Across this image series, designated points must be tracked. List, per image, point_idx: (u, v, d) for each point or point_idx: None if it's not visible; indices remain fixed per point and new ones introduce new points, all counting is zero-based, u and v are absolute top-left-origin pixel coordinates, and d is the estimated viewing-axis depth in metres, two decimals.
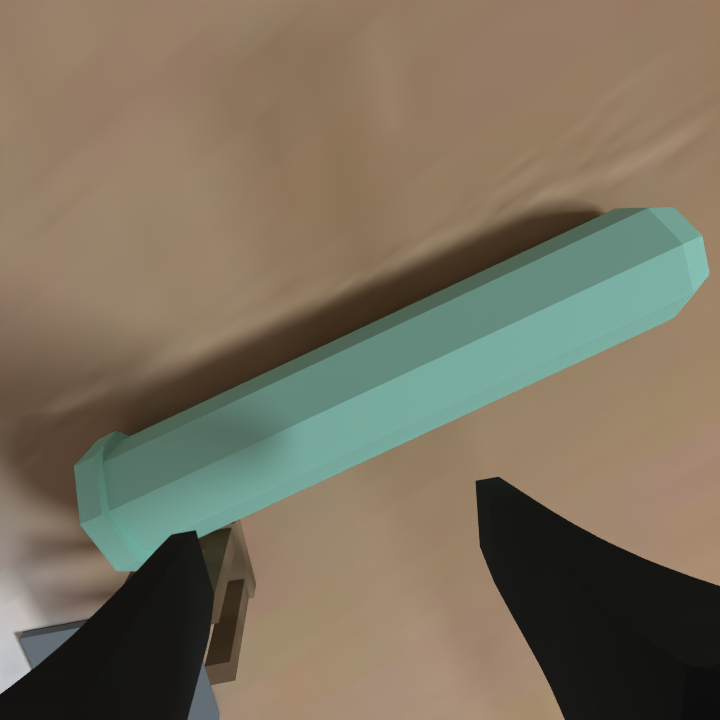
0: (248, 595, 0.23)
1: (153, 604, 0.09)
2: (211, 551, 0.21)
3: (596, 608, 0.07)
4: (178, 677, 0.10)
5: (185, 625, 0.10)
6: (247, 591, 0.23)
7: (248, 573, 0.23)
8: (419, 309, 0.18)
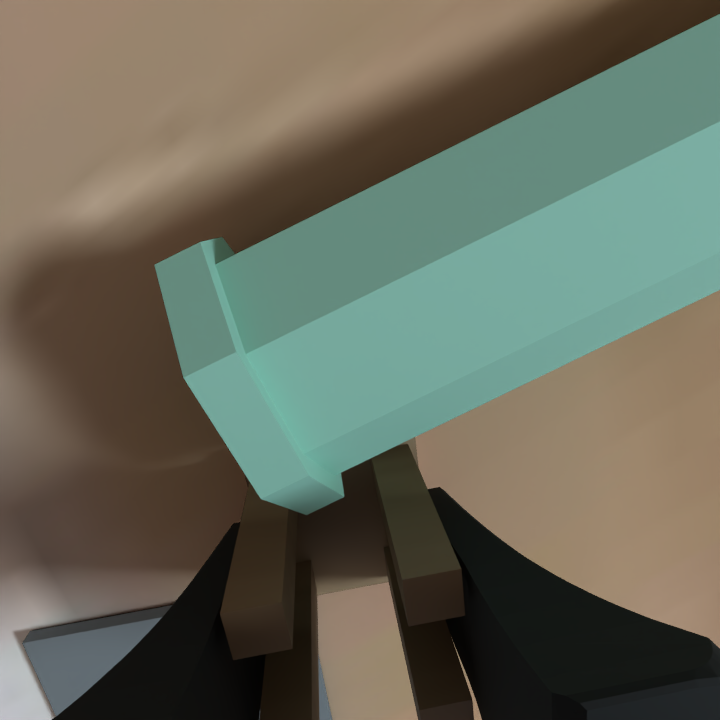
0: None
1: None
2: (393, 478, 0.11)
3: (497, 627, 0.07)
4: (253, 663, 0.10)
5: None
6: None
7: None
8: None
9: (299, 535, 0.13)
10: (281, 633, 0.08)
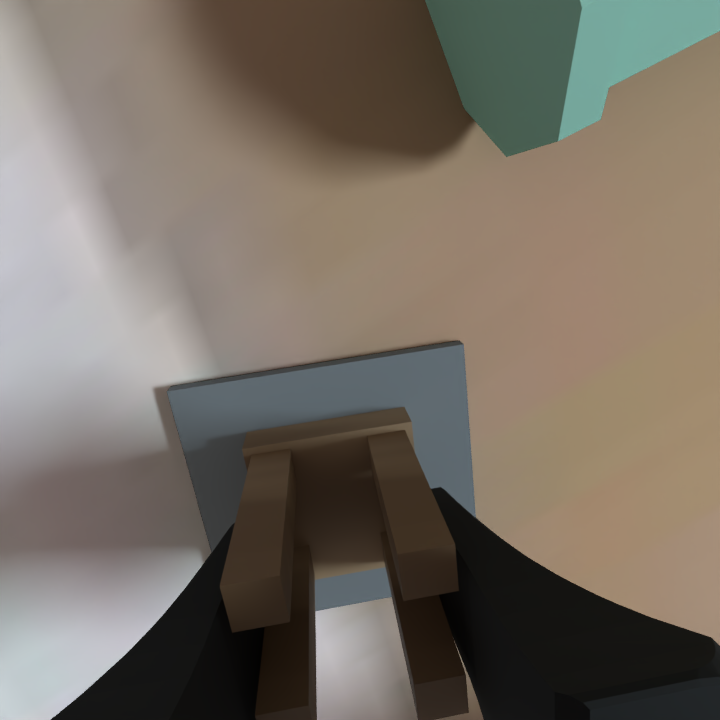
0: None
1: None
2: (390, 462, 0.11)
3: (499, 627, 0.07)
4: (252, 663, 0.10)
5: None
6: None
7: None
8: None
9: (297, 520, 0.13)
10: (279, 606, 0.08)
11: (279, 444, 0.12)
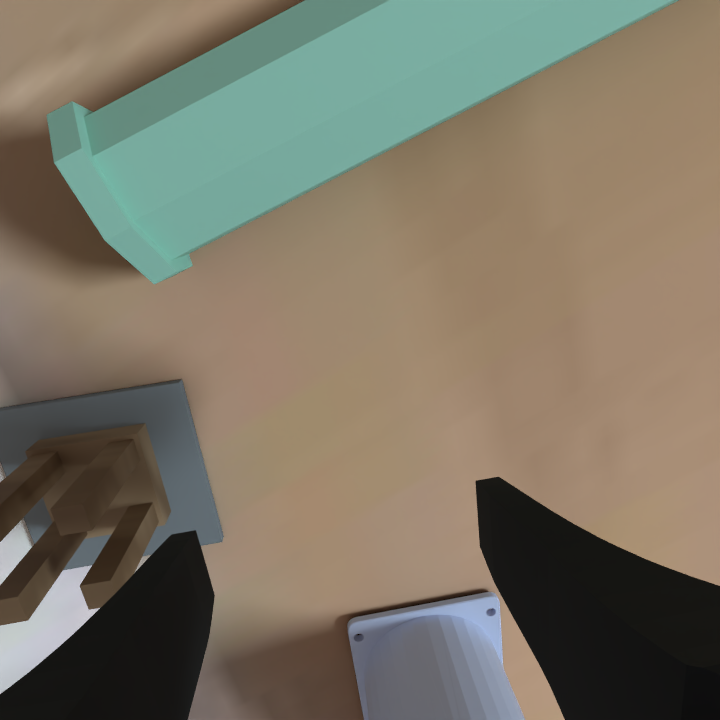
0: (157, 522, 0.20)
1: (153, 604, 0.09)
2: (102, 459, 0.18)
3: (596, 608, 0.07)
4: (178, 677, 0.10)
5: (185, 625, 0.10)
6: (156, 517, 0.20)
7: (157, 496, 0.20)
8: None
9: None
10: None
11: (49, 448, 0.19)
